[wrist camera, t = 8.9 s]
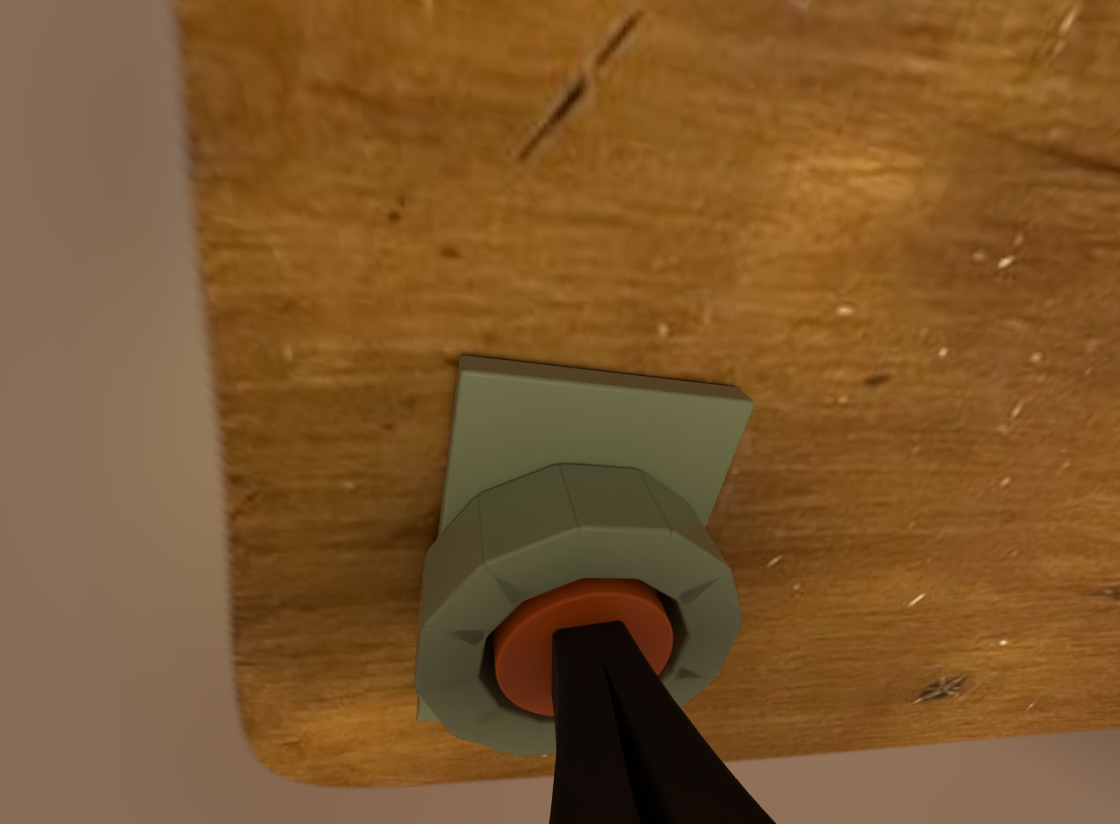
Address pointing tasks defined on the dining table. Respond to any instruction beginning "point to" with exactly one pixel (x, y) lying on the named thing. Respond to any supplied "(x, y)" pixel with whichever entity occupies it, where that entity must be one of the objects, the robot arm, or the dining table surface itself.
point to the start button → (578, 603)
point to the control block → (572, 526)
